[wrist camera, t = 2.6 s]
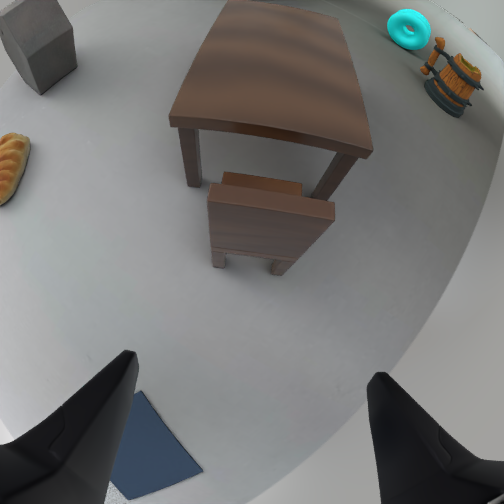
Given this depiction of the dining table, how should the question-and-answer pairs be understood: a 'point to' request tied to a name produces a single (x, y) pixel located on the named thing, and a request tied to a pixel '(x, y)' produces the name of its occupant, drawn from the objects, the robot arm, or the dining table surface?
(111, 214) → the dining table surface
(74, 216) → the dining table surface
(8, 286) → the dining table surface
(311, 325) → the dining table surface
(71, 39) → the grey hexagonal prism
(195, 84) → the side table
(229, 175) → the chair
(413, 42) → the donuts
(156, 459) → the mat
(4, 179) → the pastry
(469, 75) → the mug
